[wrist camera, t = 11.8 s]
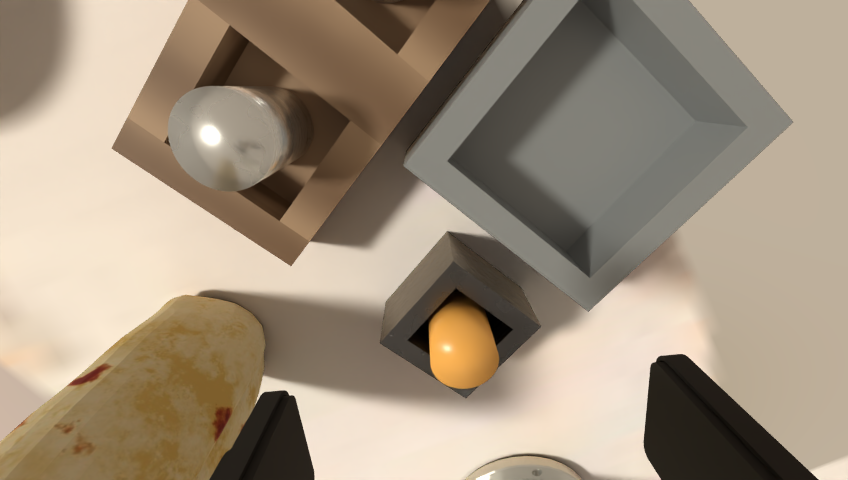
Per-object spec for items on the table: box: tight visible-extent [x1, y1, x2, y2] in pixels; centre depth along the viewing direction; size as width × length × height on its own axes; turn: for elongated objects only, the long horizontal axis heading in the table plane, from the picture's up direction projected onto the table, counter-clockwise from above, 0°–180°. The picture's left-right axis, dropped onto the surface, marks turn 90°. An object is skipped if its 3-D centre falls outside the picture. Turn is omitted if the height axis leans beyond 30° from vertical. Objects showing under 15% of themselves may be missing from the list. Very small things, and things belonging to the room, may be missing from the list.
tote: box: [404, 0, 793, 312], centre depth 22 cm, size 14×14×5 cm
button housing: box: [380, 232, 541, 398], centre depth 26 cm, size 7×7×5 cm
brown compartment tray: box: [112, 0, 490, 266], centre depth 21 cm, size 22×11×4 cm, turn 141°
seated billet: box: [168, 86, 313, 192], centre depth 20 cm, size 4×4×7 cm
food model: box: [0, 295, 266, 480], centre depth 20 cm, size 10×7×20 cm
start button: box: [428, 292, 499, 389], centre depth 24 cm, size 4×4×4 cm
